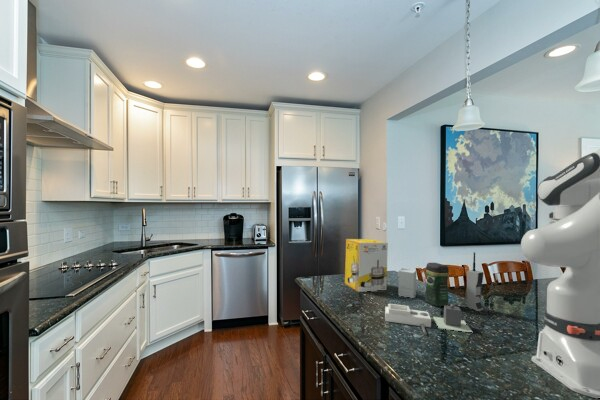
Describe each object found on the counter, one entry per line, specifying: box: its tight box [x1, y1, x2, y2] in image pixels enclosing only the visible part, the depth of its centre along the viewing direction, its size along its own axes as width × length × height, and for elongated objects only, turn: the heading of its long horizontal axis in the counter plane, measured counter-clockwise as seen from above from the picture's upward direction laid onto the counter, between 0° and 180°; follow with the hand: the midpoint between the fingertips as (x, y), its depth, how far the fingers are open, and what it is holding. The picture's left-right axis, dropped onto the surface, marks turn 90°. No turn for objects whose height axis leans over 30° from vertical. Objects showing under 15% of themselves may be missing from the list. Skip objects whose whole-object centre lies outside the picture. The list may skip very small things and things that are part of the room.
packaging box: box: [344, 238, 389, 293], centre depth 157 cm, size 16×16×25 cm
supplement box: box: [397, 268, 417, 299], centre depth 144 cm, size 7×7×13 cm
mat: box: [432, 316, 474, 334], centre depth 109 cm, size 11×11×1 cm
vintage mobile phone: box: [466, 251, 484, 312], centre depth 127 cm, size 4×5×25 cm
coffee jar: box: [424, 262, 450, 307], centre depth 133 cm, size 10×8×19 cm
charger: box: [443, 303, 462, 327], centre depth 109 cm, size 4×5×7 cm
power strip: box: [384, 303, 432, 337], centre depth 108 cm, size 16×16×4 cm
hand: (570, 253), depth 105 cm, fingers open, 8 cm apart
